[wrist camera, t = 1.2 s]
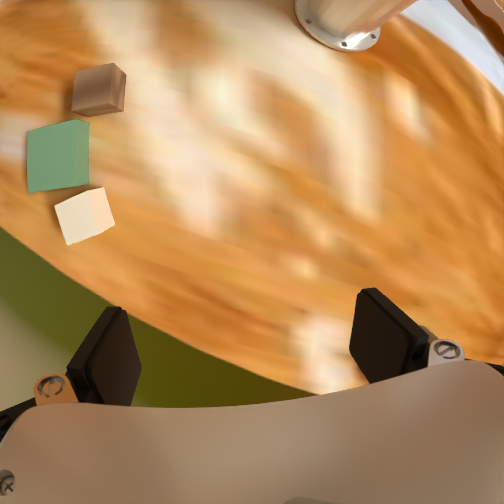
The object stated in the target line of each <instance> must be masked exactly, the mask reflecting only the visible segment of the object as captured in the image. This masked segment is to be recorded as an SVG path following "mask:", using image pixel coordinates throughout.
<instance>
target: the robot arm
mask: <svg viewBox="0 0 504 504" xmlns="http://www.w3.org/2000/svg"><path fill="white" fill-rule="evenodd" d="M416 1H418V0H296V2H295V12H296V15H297V18H298V20H299V22H300V24H301V25H302V26H303V27H304V29H305V30H306V31H307V32H308V33H309V34H310V35H311V36H312V37H314V38H315V39H316V40H318V41H319V42H321V43H323V44H324V45H326V46H328V47H331V48H333V49H336V50H340V51H343V52H360V51H364V50H366V49H368V48H370V47H371V46H373V45H374V44H375V43H376V42H377V40H378V38H379V35H380V26H381V25H383V24H384V23H385V22H387V21H388V20H390V19H391V18H392V17H394V16H395V15H397V14H398V13H400V12H401V11H403V10H404V9H406V8H407V7H409V6H410V5H412V4H413V3H415V2H416ZM493 1H494V2H495V3H496V4H497V6H498V7H499V8H500V9H501V10H502V11H503V12H504V0H493ZM428 339H429V335H428V334H427V333H426V332H425V331H424V330H423V329H422V328H421V327H420V326H418V325H417V324H416V323H415V322H414V321H413V320H412V319H411V318H410V317H409V316H407V315H406V314H405V313H404V312H403V311H402V310H401V309H400V308H398V307H397V306H396V305H395V304H394V303H393V302H392V301H390V300H389V299H388V298H387V297H386V296H385V295H383V294H382V293H381V292H380V291H379V290H378V289H377V288H375V287H374V288H366V289H362V290H361V292H360V293H358V294H357V299H356V306H355V313H354V320H353V327H352V333H351V339H350V344H349V350H350V353H351V355H352V357H353V358H354V360H355V361H356V363H357V364H358V366H359V367H360V369H361V371H362V372H363V374H364V375H365V377H366V378H367V380H368V381H369V383H370V384H368V385H364V386H360V387H356V388H352V389H347V390H343V391H338V392H333V393H328V394H323V395H318V396H313V397H307V398H301V399H294V400H288V401H280V402H272V403H264V404H254V405H244V406H232V407H212V408H148V407H131V403H132V399H133V396H134V392H135V389H136V386H137V382H138V379H139V376H140V373H141V363H140V359H139V356H138V353H137V349H136V346H135V343H134V339H133V335H132V331H131V328H130V324H129V320H128V316H127V312H126V311H125V310H122V308H121V307H106V309H105V310H104V311H103V313H102V314H101V316H100V317H99V318H98V320H97V321H96V323H95V324H94V326H93V327H92V329H91V330H90V332H89V333H88V335H87V336H86V338H85V339H84V341H83V342H82V344H81V345H80V347H79V348H78V350H77V352H76V353H75V355H74V356H73V358H72V359H71V361H70V362H69V364H68V366H67V372H66V374H65V375H64V374H61V373H51V374H47V375H45V376H43V377H41V378H40V379H39V380H38V381H37V382H36V383H35V386H34V396H35V397H34V398H31V399H30V400H27V401H25V402H22V403H20V404H18V405H15V406H13V407H10V408H8V409H6V410H3V411H1V412H0V504H504V367H503V366H501V365H495V364H490V363H485V362H481V361H475V360H471V359H466V358H465V357H464V350H463V348H462V347H461V346H460V345H459V344H458V343H456V342H454V341H452V340H448V339H437V340H435V341H433V342H432V343H431V344H430V343H429V342H428Z"/></svg>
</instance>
